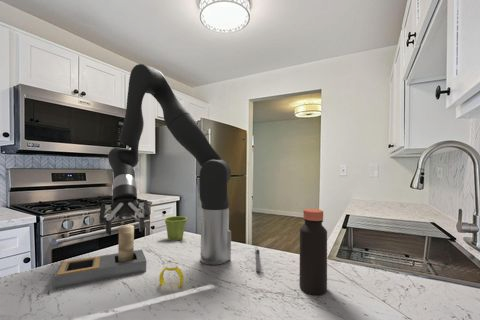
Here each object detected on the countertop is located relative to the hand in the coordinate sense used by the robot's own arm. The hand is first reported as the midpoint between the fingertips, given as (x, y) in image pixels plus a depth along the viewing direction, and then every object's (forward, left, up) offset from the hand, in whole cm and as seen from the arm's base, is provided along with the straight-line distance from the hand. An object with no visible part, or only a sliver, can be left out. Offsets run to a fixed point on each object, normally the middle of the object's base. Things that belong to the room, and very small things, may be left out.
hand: (125, 232), depth 71 cm
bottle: (-42, +35, -11) cm, 56 cm away
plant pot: (-21, -22, -11) cm, 32 cm away
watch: (-10, +18, -11) cm, 23 cm away
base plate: (+5, +2, -11) cm, 12 cm away
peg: (0, +2, -10) cm, 10 cm away
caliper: (-40, +12, -11) cm, 43 cm away
